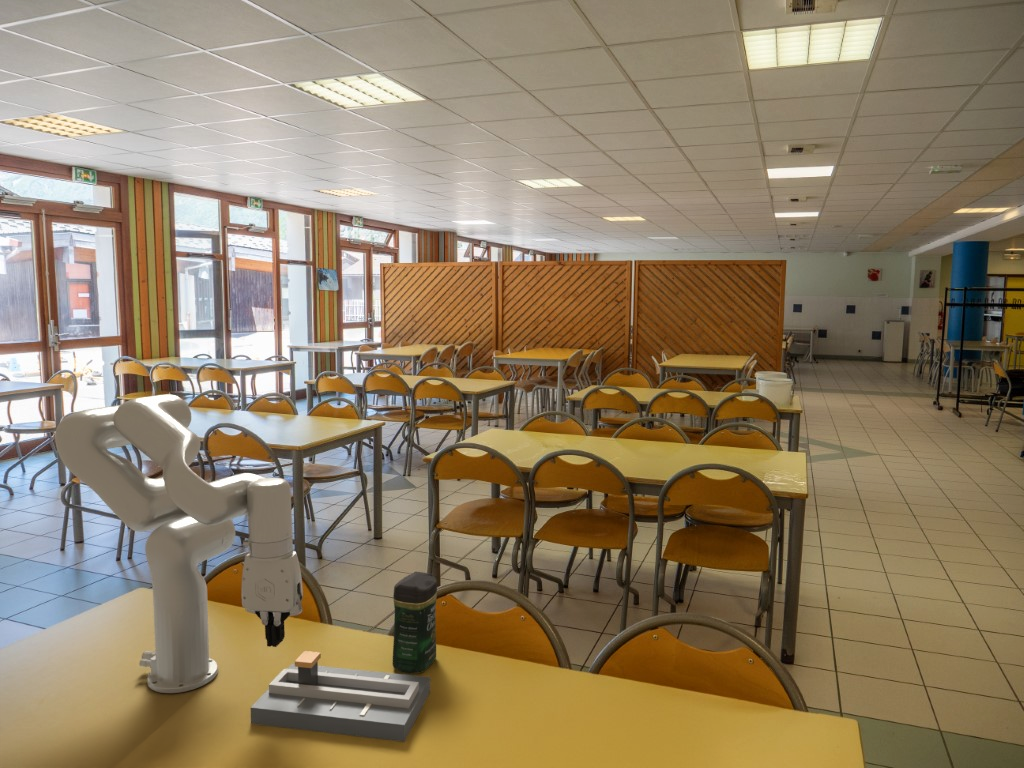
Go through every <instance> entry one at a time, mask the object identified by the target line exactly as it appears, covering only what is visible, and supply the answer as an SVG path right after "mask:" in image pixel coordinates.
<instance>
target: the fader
mask: <svg viewBox="0 0 1024 768" xmlns="http://www.w3.org/2000/svg"><path fill="white" fill-rule="evenodd" d="M321 655H322V652H319V651H310V650H309V651H307V650H304V651H303V652H302V653H301V654H300V655H299V656H298V657H297V658H296V659H295V660H294V663H295V667H298V684H303V685H312V686H317V685H318V666H319V665H318V662H319V661H320V659H321V657H322V656H321Z"/></svg>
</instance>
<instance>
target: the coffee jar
mask: <svg viewBox="0 0 1024 768" xmlns="http://www.w3.org/2000/svg"><path fill="white" fill-rule="evenodd" d="M392 597H393V598H392V599H393V606H394V618H393V619H394V622H393V623H394V624H393V625H394V627H393V646H392V666H393V668H394V669H395V670H397V671H398V672H400V673H403V674H408V675H412V674H419V673H423V672H425V671H427V669H429V668H430V666H431V665H432V664H433V663H434V662H435V660H436V658H437V635H436V633H437V631H436V627H437V626H436V624H437V623H436V616H437V615H436V613H437V611H436V609H437V608H436V607H437V597H438V581H437V578H436V577H435V576H434V575H433V574H432V573H428V572H423V571H422V572H421V571H414V572H413V573H409V574H408V575H405V576H404V577H403V578H401V579H400V580H399V581H398V582H397V583H396V584H394V587H393V596H392Z"/></svg>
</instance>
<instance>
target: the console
mask: <svg viewBox="0 0 1024 768" xmlns="http://www.w3.org/2000/svg"><path fill="white" fill-rule="evenodd" d="M430 693H431V677H430V676H424V675H423V676H422V675H414V674H413V675H412V674H405V673H403V674H402V673H392V672H383V671H375V670H373V671H372V670H362V669H355V668H353V669H352V668H343V667H334V666H323V665H318V685H317V686H312V685H303V684H298V667H295V662H292V663H291V665H289V666H288V668H283V669H282V670H281V671H280V672H279V673H278V674H277V675H276V676H275V677H274V678H273V679H272V681H271V682H270V683H269V684H268V689H266V690H265V692H264V693H262V695H261V696H260V697H259V698H258V699H257V700H256V701H255V702H254V703H253V704H252V705H251V706H250V725H251V724H252V725H261V726H265V727H266V726H267V727H277V728H283V729H284V728H285V729H286V728H287V729H292V730H302V731H303V730H304V731H309V732H310V731H311V732H320V733H328V734H336V735H345V736H351V737H352V736H353V737H362V738H370V739H378V740H388V741H397V742H403V743H405V741H406V740H407V737H408V736H409V733H410V732H411V731H412V730H411V729H412V728H413V726H414V724H415V722H416V720H417V718H418V716H419V714H420V713H421V711H422V708H423V707H424V705H425V703H426V701H427V700H428V697H429V695H430Z"/></svg>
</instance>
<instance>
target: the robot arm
mask: <svg viewBox="0 0 1024 768" xmlns="http://www.w3.org/2000/svg"><path fill="white" fill-rule="evenodd" d="M191 422H192V412H191V408H190V406H189V405H188V403H187V402H186V401H185V400H184V399H183V398H181V397H179V395H175V394H169V393H166V394H156V395H148V396H142V397H136V398H132V399H129V400H127V401H125V402H123V403H121V404H117V405H112V406H111V405H110V406H102V407H95V408H89V409H84V410H81V411H80V410H79V411H77V412H74V413H70V414H69V415H67V416H66V417H64V418H62V420H61V421H60V422H59V423H58V424H57V427H56V429H55V433H54V434H55V436H54V441H55V447H56V451H57V453H58V456H59V458H60V460H61V461H62V463H63V465H64V466H65V467H66V469H68V470H69V472H70V473H72V475H74V476H75V477H76V478H77V479H78V480H80V481H81V483H84V484H85V485H86V486H87V487H88V488H90V489H91V490H92V491H93V492H94V493H95V494H97V496H98V497H99V498H100V499H101V501H103V503H104V504H105V505H107V507H108V508H109V509H110V510H111V511H112V512H113V513H114V514H115V515H116V516H117V517H118V518H119V520H120V521H122V522H123V524H125V526H126V527H128V528H130V530H132V531H134V532H141V533H142V532H147V531H151V530H152V532H151V533H150V534H149V536H148V537H147V539H146V542H145V548H144V549H145V557H146V561H147V564H148V565H147V566H148V568H149V572H150V577H151V583H152V584H151V585H152V599H153V600H152V601H153V604H152V605H153V622H154V623H153V624H154V625H153V626H154V649H155V651H152V650H151V651H150V650H145V651H143V653H142V654H141V659H140V661H139V663H138V664H139V666H140V667H144V668H146V667H147V668H150V673H148V675H147V679H146V680H147V681H146V682H147V687H148V688H149V689H150V690H151V691H154V692H156V693H161V694H179V693H184V692H185V693H186V692H189V691H193V690H195V689H197V688H198V689H199V688H200V687H203V686H205V685H206V684H208V683H210V682H211V681H212V680H213V679H215V678H216V676H217V675H218V672H219V665H218V663H217V661H215V659H213V658H210V647H209V646H210V645H209V642H210V641H209V640H210V639H209V638H210V637H209V614H208V613H209V611H208V609H209V608H208V607H209V606H208V603H209V602H208V587H207V583H206V580H205V578H204V577H203V575H202V574H201V572H200V571H199V567H198V565H199V564H200V563H201V564H202V562H204V561H206V560H210V559H211V558H214V557H216V556H218V555H221V554H222V553H224V552H225V551H227V550H228V549H229V548H230V547H232V546H233V543H234V542H235V539H236V526H235V524H234V522H233V520H232V519H235V518H237V517H242V516H245V515H247V522H248V523H247V524H248V527H247V528H248V538H247V539H243V541H242V545H243V547H244V548H245V547H246V548H248V553H247V554H245V555H244V560H243V561H244V562H243V565H242V566H243V568H242V573H241V574H242V575H241V593H240V594H241V596H240V597H241V605H242V607H243V608H244V610H245V612H247V613H251V614H254V615H256V616H257V617H258V619H260V620H261V624H262V625H263V626H264V635H265V637H264V639H265V640H266V645H267V647H270V648H271V647H272V648H273V647H274V648H277V647H278V646H279V645H280V644H281V643H282V642H283V641H284V640H285V635H286V633H285V632H286V631H285V621H286V620H287V619H288V618H289V617H294V616H298V615H300V614H301V613H302V612H303V606H302V601H303V597H304V590H303V579H302V572H301V566H300V563H299V562H300V561H299V557H298V555H297V552H296V551H294V544H293V542H294V541H293V539H294V538H293V521H292V520H293V517H292V516H293V515H292V496H291V495H292V490H291V485H290V483H289V481H288V480H287V479H285V478H281V477H264V476H260V475H257V474H255V473H251V472H243V473H237V474H234V475H231V476H227V477H223V478H220V479H217V480H213V481H210V482H208V481H206V480H204V479H203V478H202V477H201V476H199V475H198V474H197V473H196V472H194V471H193V470H192V469H191V468H190V465H192V463H194V461H195V459H196V458H197V456H198V454H199V452H200V449H201V445H202V444H201V439H200V437H199V436H198V435H197V434H196V433H194V432H193V431H192V430H190V429H189V426H190V425H191ZM129 445H130V446H131V445H133V446H134V447H135V448H137V449H138V450H139V451H140V452H141V453H143V454H144V455H145V456H146V457H147V458H149V459H150V460H151V461H152V462H153V463H155V464H156V465H157V466H159V467H160V468H161V469H162V476H161V477H158V478H151V477H149V476H147V475H146V474H145V473H143V472H142V471H141V470H140V469H139V468H138V467H137V465H135V463H134V462H132V461H131V460H129V459H127V458H125V457H123V456H121V455H119V454H117V453H115V452H112V451H110V450H109V449H115V448H120V447H124V446H129Z"/></svg>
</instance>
